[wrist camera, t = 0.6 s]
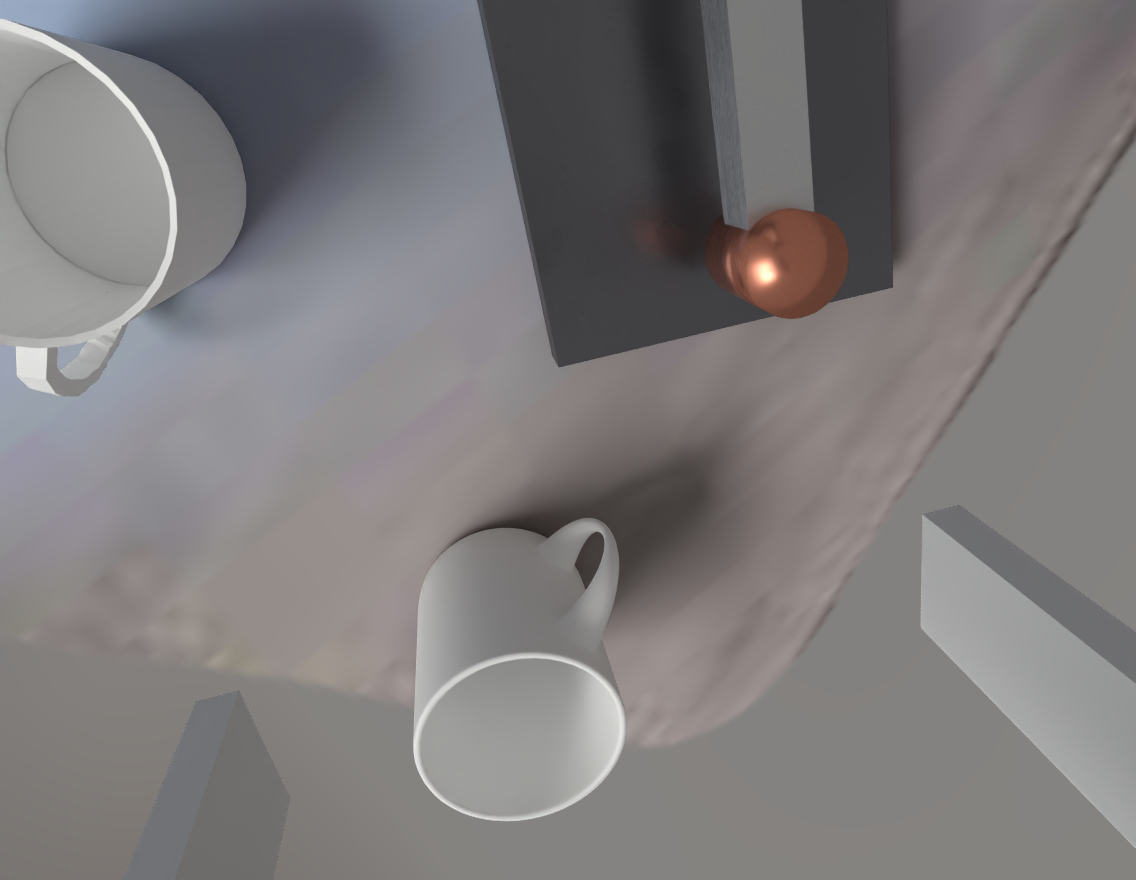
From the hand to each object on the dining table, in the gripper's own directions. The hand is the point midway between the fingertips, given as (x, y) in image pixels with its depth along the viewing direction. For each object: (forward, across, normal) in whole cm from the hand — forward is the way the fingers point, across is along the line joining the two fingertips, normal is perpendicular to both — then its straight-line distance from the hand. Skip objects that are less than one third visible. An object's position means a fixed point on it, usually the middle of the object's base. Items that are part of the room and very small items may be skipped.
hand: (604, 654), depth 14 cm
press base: (+23, +10, +14) cm, 29 cm away
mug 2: (+23, -2, -12) cm, 26 cm away
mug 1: (+23, -14, +9) cm, 28 cm away
